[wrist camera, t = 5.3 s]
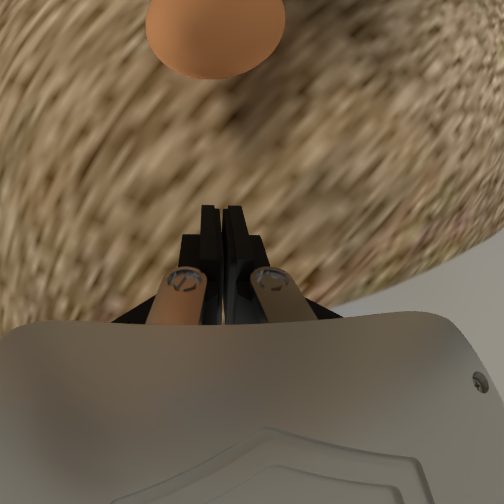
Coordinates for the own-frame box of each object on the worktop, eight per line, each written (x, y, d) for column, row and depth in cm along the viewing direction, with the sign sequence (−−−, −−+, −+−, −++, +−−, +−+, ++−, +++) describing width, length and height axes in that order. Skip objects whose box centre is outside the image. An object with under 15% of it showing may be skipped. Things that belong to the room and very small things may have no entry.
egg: (262, 85, 12) (297, 84, 8) (152, 82, 11) (122, 78, 6) (272, -5, 9) (311, -45, 5) (163, -10, 8) (145, -56, 3)
